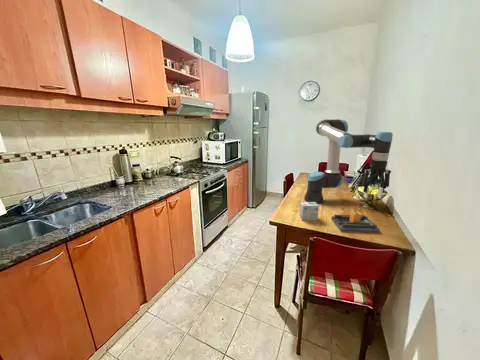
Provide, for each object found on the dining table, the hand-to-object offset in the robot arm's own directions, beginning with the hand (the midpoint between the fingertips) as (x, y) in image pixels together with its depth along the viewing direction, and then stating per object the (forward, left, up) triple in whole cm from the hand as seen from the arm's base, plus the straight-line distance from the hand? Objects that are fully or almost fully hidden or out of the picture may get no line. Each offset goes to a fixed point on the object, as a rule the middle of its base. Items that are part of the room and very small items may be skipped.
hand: (372, 197), depth 120 cm
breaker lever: (0, -8, -16) cm, 18 cm away
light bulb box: (-8, -34, -19) cm, 40 cm away
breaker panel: (0, -8, -19) cm, 21 cm away
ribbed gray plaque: (0, -7, -17) cm, 18 cm away
